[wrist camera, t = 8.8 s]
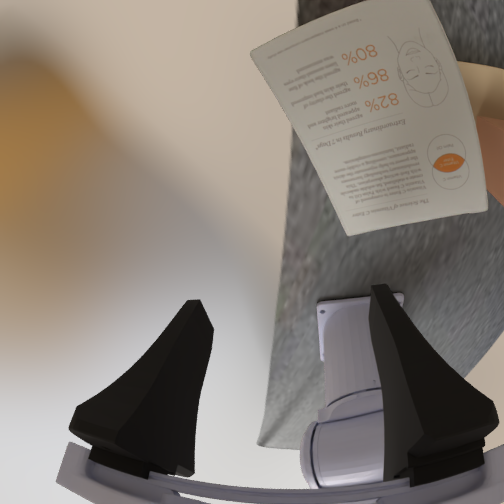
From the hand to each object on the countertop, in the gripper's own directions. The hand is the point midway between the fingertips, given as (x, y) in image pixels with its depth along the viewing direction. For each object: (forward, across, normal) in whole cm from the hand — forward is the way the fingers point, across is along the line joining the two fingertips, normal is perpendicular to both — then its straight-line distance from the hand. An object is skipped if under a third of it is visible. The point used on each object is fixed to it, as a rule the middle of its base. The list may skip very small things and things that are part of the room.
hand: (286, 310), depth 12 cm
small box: (+6, -4, -12) cm, 14 cm away
